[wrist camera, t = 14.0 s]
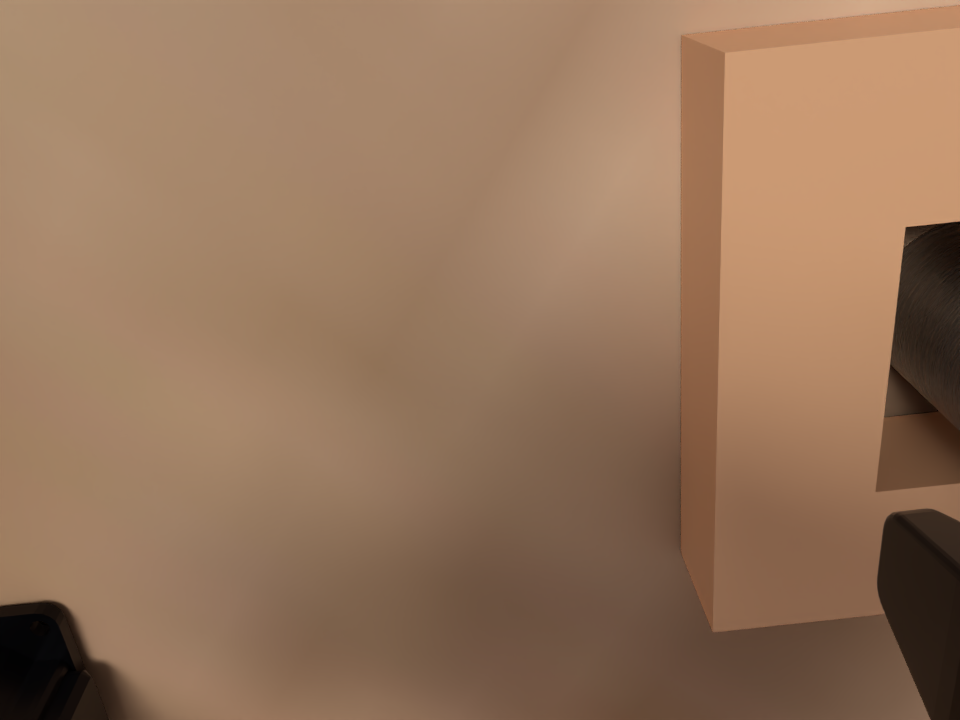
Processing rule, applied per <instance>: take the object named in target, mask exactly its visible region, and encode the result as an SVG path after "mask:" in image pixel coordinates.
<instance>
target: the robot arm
mask: <svg viewBox="0 0 960 720" xmlns="http://www.w3.org/2000/svg"><path fill="white" fill-rule="evenodd" d="M877 590H878V596H879V599H880V603H881V605H882V608H883V610H884V612H885V615H886V617H887V619H888V622H889V624H890V626H891V629H892V631H893V633H894V636H895V638H896V640H897V643H898V645H899V647H900V650H901V652H902V654H903V656H904V659H905V661H906V663H907V666H908V668H909V670H910V673H911V675H912V677H913V680H914V682H915V684H916V687H917V689H918V691H919V694H920V696H921V698H922V701H923V703H924V705H925V707H926V710H927V712H928V714H929V717H930V719H931V720H960V521H958V520H956V519H954V518H952V517H950V516H947V515H945V514H943V513H941V512H939V511H937V510H934V509H928V508H926V509H916V510H906V511H897V512H893V513H891V514H890V515H889V516H887V518H886V520H885V522H884V526H883V533H882V541H881V549H880V557H879V565H878V574H877ZM38 621H43V622H45V623H47V624H48V625H43V624H41V623H39V622H38ZM0 720H109V719H108V717H107V714H106V711H105V709H104V706H103V703H102V701H101V698H100V696H99V693H98V690H97V688H96V685H95V682H94V680H93V678H92V676H91V675H90V674H89V673H88V672H87V671H86V669H85V667H84V664H83V662H82V659H81V656H80V654H79V651H78V649H77V646H76V643H75V641H74V638H73V636H72V633H71V630H70V628H69V625H68V623H67V620H66V617H65V615H64V614H63V612H62V611H61V610H60V609H59V608H58V607H56V606H54V605H51V604H48V603H35V604H25V605H16V606H7V607H0Z"/></svg>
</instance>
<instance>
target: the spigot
mask: <svg viewBox="0 0 960 720" xmlns="http://www.w3.org/2000/svg"><path fill="white" fill-rule="evenodd" d="M890 365H891V366H892V367H893V368H894V369H895V370H897V371H898V372H899V373H900V374H901V375H902V376H903V377H904V378H905V379H906V380H907V381H908V382H909V383H910V384H911V385H912V386H913V387H914V388H915V389H916V390H917V391H918V392H919V393H921V394H922V395H923V396H924V397H925V398H926V399H927V400H928V401H929V402H930V403H931V404H932V405H933V406H934V407H935V408H936V409H937V410H938V411H939V412H940V413H941V414H942V415H943V416H944V417H946V418H947V419H948V420H949V421H950V422H951V423H952V424H953V425H954V426H955V427H956V428H957V429H958V430H959V431H960V221H958V222H952V223H948V224H945V225H942V226H940V227H937V228H935V229H932V230H930V231H929V232H927V233H925V234H923V235H921V236H920V237H918V238H917V239H915V240H914V241H912V242H911V243H910V244H909V245H907V246H906V247H905V248H904V249H903V254H902V263H901V272H900V280H899V289H898V298H897V307H896V316H895V324H894V333H893V342H892V351H891V359H890Z"/></svg>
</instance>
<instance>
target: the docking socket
mask: <svg viewBox="0 0 960 720" xmlns="http://www.w3.org/2000/svg"><path fill="white" fill-rule="evenodd" d="M958 221H960V5H958V6H949V7H939V8H930V9H921V10H911V11H902V12H893V13H883V14H874V15H865V16H855V17H846V18H837V19H827V20H818V21H808V22H799V23H790V24H780V25H771V26H762V27H752V28H743V29H734V30H724V31H715V32H706V33H696V34H687V35H682V58H681V554H682V557H683V559H684V562H685V564H686V567H687V569H688V572H689V574H690V577H691V579H692V582H693V584H694V587H695V589H696V592H697V594H698V597H699V599H700V602H701V604H702V607H703V609H704V612H705V615H706V617H707V620H708V622H709V625H710V627H711V630H712V632H722V631H732V630H741V629H751V628H760V627H769V626H779V625H788V624H797V623H807V622H816V621H825V620H835V619H844V618H854V617H863V616H872V615H882V614H885V612H884V610H883V608H882V605H881V603H880V599H879V596H878V590H877V574H878V565H879V557H880V549H881V541H882V533H883V526H884V522H885V520H886V518H887V516H889V515H890V514H891V513H893V512H897V511H906V510H916V509H926V508H928V509H934V510H937V511H939V512H941V513H943V514H945V515H947V516H950V517H952V518H954V519H956V520H958V521H960V431H959V430H958V429H957V428H956V427H955V426H954V425H953V424H952V423H951V422H950V421H949V420H948V419H947V418H946V417H944V416H943V415H942V414H941V413H940V412H930V413H921V414H912V415H902V416H893V417H884V412H885V403H886V395H887V386H888V377H889V368H890V359H891V351H892V342H893V333H894V324H895V316H896V307H897V298H898V289H899V280H900V272H901V263H902V254H903V245H904V237H905V228H906V227H911V226H921V225H930V224H940V223H949V222H958Z"/></svg>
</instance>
